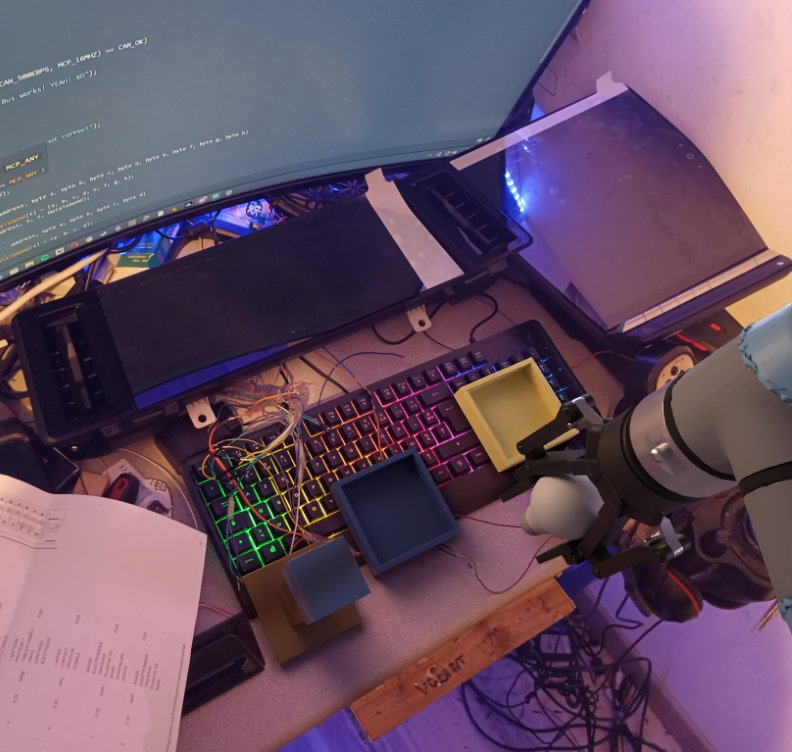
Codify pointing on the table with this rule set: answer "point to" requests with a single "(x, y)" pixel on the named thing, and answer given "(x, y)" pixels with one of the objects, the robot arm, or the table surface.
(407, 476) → the navy tray
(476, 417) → the pale tray
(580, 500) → the lightbulb
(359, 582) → the blue block
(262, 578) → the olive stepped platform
